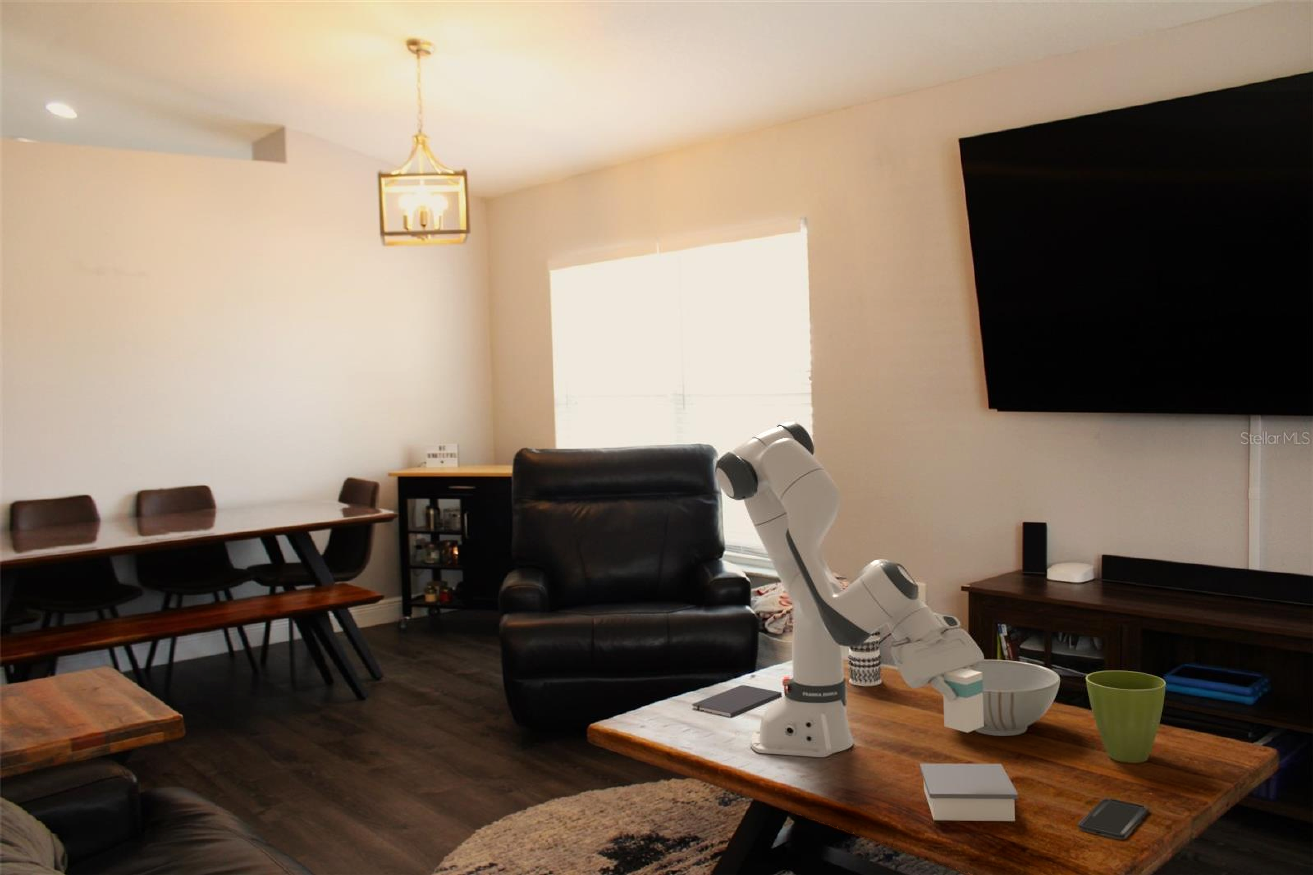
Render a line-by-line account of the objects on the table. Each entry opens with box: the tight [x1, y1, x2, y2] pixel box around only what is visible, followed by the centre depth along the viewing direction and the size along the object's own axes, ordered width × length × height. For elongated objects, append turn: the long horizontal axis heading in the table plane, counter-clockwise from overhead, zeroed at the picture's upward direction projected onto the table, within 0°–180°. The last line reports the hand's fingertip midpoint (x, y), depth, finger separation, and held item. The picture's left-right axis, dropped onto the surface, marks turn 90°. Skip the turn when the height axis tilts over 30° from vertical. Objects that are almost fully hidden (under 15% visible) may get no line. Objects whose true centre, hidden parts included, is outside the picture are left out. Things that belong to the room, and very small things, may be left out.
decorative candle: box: [847, 628, 883, 687], centre depth 274 cm, size 9×9×25 cm
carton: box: [942, 668, 984, 733], centre depth 189 cm, size 5×5×10 cm
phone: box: [1078, 798, 1150, 840], centre depth 181 cm, size 8×1×15 cm
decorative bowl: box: [941, 659, 1061, 737], centre depth 233 cm, size 27×27×12 cm
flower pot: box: [1085, 670, 1167, 764], centre depth 211 cm, size 15×15×16 cm
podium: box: [919, 763, 1019, 822], centre depth 190 cm, size 15×15×5 cm
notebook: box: [692, 684, 783, 718], centre depth 261 cm, size 13×2×21 cm
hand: (965, 695), depth 189 cm, fingers closed on carton, 5 cm apart
